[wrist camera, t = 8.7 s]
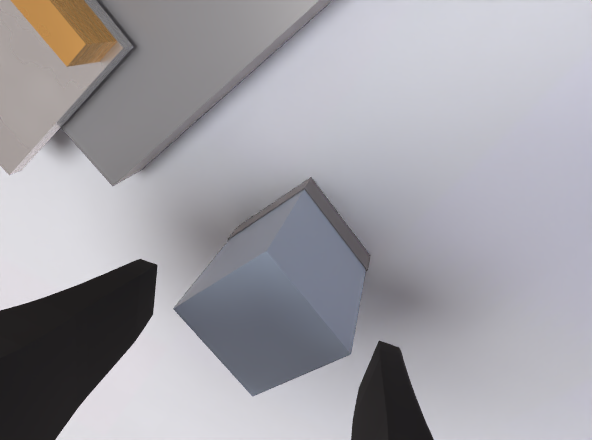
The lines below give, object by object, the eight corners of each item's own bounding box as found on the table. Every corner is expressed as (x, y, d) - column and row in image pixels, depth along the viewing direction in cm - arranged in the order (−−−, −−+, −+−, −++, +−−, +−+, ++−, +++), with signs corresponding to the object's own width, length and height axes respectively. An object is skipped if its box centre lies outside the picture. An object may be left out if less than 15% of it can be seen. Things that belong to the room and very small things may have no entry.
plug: (370, 255, 18) (353, 354, 13) (294, 295, 20) (252, 397, 14) (311, 176, 17) (266, 248, 12) (237, 226, 19) (170, 308, 14)
